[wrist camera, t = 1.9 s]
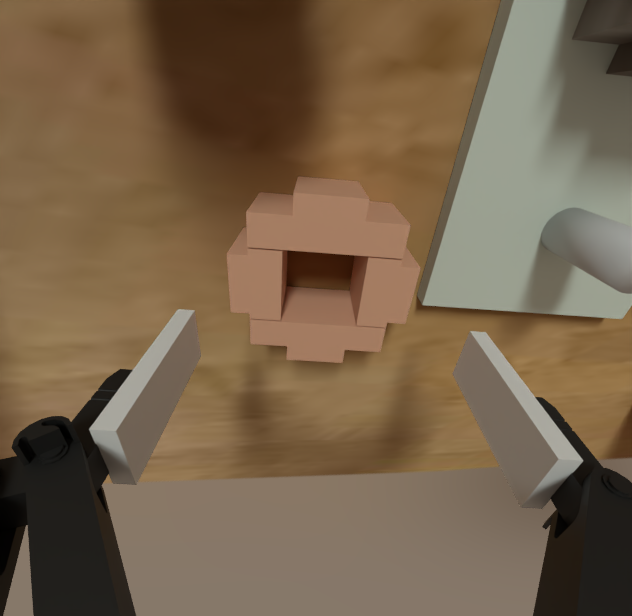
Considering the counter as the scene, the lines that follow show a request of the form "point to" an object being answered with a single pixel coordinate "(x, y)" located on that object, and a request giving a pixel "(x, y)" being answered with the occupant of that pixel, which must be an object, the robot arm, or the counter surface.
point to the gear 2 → (609, 30)
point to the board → (539, 176)
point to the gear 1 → (322, 237)
